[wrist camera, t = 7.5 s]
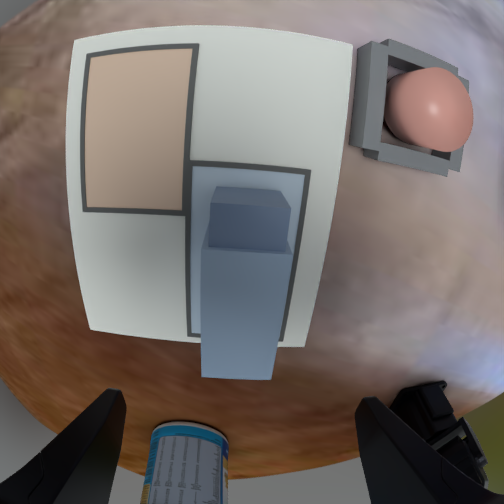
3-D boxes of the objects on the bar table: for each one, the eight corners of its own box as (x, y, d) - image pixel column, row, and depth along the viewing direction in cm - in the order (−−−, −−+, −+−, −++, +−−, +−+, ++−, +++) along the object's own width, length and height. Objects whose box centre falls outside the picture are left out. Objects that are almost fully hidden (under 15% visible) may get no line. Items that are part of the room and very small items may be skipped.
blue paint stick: (265, 336, 20) (270, 379, 16) (206, 334, 20) (201, 376, 16) (285, 190, 16) (299, 211, 12) (211, 185, 16) (202, 204, 12)
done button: (437, 152, 15) (468, 160, 12) (377, 136, 14) (404, 140, 12) (444, 86, 13) (475, 84, 10) (384, 63, 13) (411, 55, 10)
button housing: (440, 173, 16) (458, 179, 14) (347, 153, 16) (360, 157, 14) (450, 75, 13) (469, 74, 12) (358, 41, 13) (371, 33, 11)
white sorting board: (303, 342, 21) (304, 349, 20) (92, 325, 20) (89, 331, 19) (349, 46, 13) (354, 43, 12) (78, 41, 12) (72, 39, 11)
